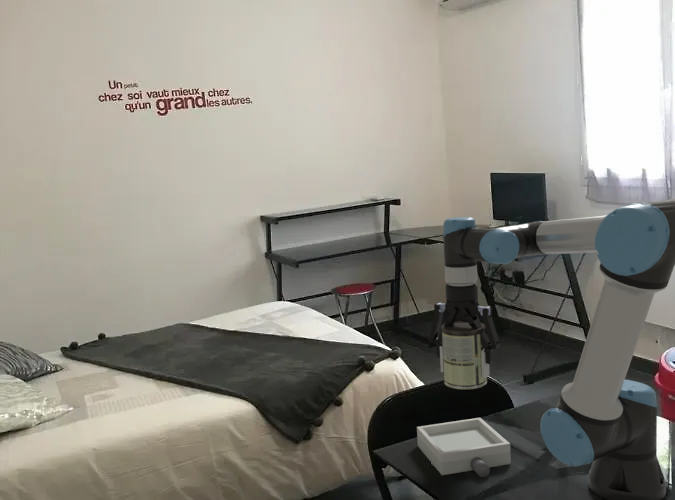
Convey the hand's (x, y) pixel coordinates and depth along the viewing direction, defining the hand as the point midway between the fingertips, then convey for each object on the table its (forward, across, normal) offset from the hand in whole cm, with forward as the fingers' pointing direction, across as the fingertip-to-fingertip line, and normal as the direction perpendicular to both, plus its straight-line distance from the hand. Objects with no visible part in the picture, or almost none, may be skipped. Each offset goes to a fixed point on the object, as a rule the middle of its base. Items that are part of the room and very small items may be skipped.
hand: (464, 373), depth 167 cm
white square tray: (+20, -1, +4) cm, 20 cm away
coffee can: (+3, 0, 0) cm, 3 cm away
